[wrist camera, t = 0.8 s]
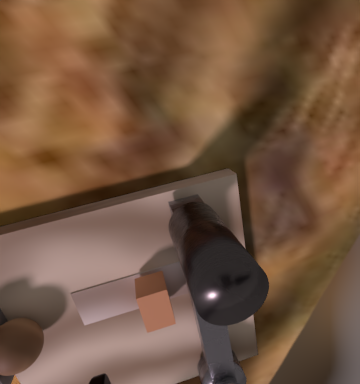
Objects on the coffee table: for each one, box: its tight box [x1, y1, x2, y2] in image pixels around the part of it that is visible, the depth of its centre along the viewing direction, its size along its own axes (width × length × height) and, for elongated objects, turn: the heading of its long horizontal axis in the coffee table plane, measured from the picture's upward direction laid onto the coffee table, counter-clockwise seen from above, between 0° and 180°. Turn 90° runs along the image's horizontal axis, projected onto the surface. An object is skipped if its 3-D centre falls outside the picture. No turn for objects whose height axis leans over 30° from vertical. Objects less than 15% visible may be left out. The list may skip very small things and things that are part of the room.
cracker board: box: [0, 168, 258, 384], centre depth 19 cm, size 18×19×5 cm
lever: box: [168, 194, 269, 384], centre depth 17 cm, size 18×4×8 cm, turn 11°
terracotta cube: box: [135, 271, 176, 333], centre depth 18 cm, size 3×2×2 cm, turn 11°
